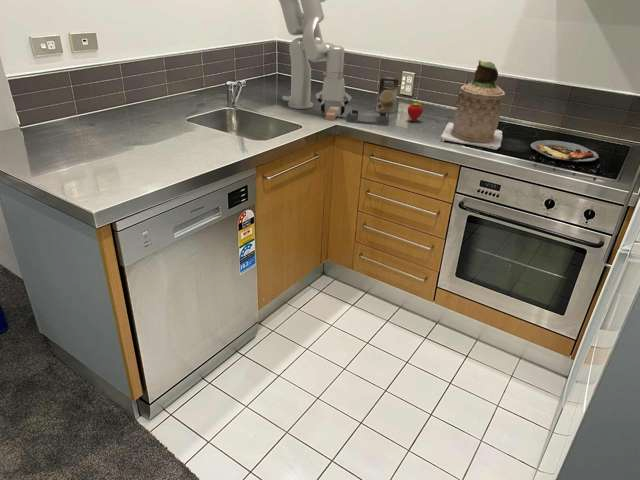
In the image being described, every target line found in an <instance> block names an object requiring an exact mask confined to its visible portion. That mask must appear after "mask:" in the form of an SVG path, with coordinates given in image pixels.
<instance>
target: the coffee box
mask: <svg viewBox="0 0 640 480" xmlns="http://www.w3.org/2000/svg"><path fill="white" fill-rule="evenodd" d="M399 82H400V78H399V77H398V76H389V75H388V76H387V75H380V76H379V83H378V89H377V91H378V92H377V99H376V107H375V111H376V113H377V112H378V113H380V112H386V113H391V114H395V112H396V103H397V95H398V88H399Z"/></svg>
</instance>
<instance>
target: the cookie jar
mask: <svg viewBox="0 0 640 480" xmlns="http://www.w3.org/2000/svg"><path fill="white" fill-rule="evenodd" d="M477 61H478V65H477V67H476V70H475V71H474V78H473V80H471V81H470V82H469V83H468V84H464V85H462V86H460V88H459V91H460V92H459V93H458V96H457V100H456V104H457V107H456V108H455V109H456V110H455V113H454V116H453V122H452V121H451V122H450V121H449V122H448V123H447V124H446V126H445V129H444V130H443V132H442V134H440V137H441V141H442V143H445V141H447V142H452V143H458V144H464V145H470V146H476V147H481V148H485V149H486V148H487V149H490V150H491V149H492V150H495V151H496V150H498V149H499V148H501V147H502V146H501V145H502V141H503V131H502V130H499V129H497V128H498V127H499V126H498V125H499V121H500V116H501V106H502V100H504V98H505V97H506V92H505V91H504V90H503V89H502V88H501V86H498V85H497V84H496V81H497V79H498V77H499V72H498V69H497V67H496V65H495V64H494V63H493V62H492V61H482V60H481V59H479V60H477Z"/></svg>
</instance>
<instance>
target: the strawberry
mask: <svg viewBox="0 0 640 480" xmlns="http://www.w3.org/2000/svg"><path fill="white" fill-rule="evenodd" d="M423 112H424V108H423V106H422V103H418V99H416V102H414V103H411V104H410V105H409V106H408V107H407V114H408V116H409V118H410V119H411V120H412V122H416V121H417V120H418V119H419V118H420V117H421V115H422V113H423Z"/></svg>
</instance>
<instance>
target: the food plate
mask: <svg viewBox="0 0 640 480" xmlns="http://www.w3.org/2000/svg"><path fill="white" fill-rule="evenodd" d="M530 147H531V149H533V150H535V151H536V152H538V153H539V154H542V155H544V156H545V157H548V158H552V159H554V160H561V161H566V162H574V163H578V162H579V163H580V162H584V163H585V162H590V163H591V162H595V161H596V160H598V159H600V156H599V154H598V153H597V152H596V151H594V150H592V149H590V148H588V147H586V146H583V145H581V144H577V143H573V142H567V141H560V140H550V139H548V140H547V139H544V140H537V141H534V142H532V143H531V144H530Z"/></svg>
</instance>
